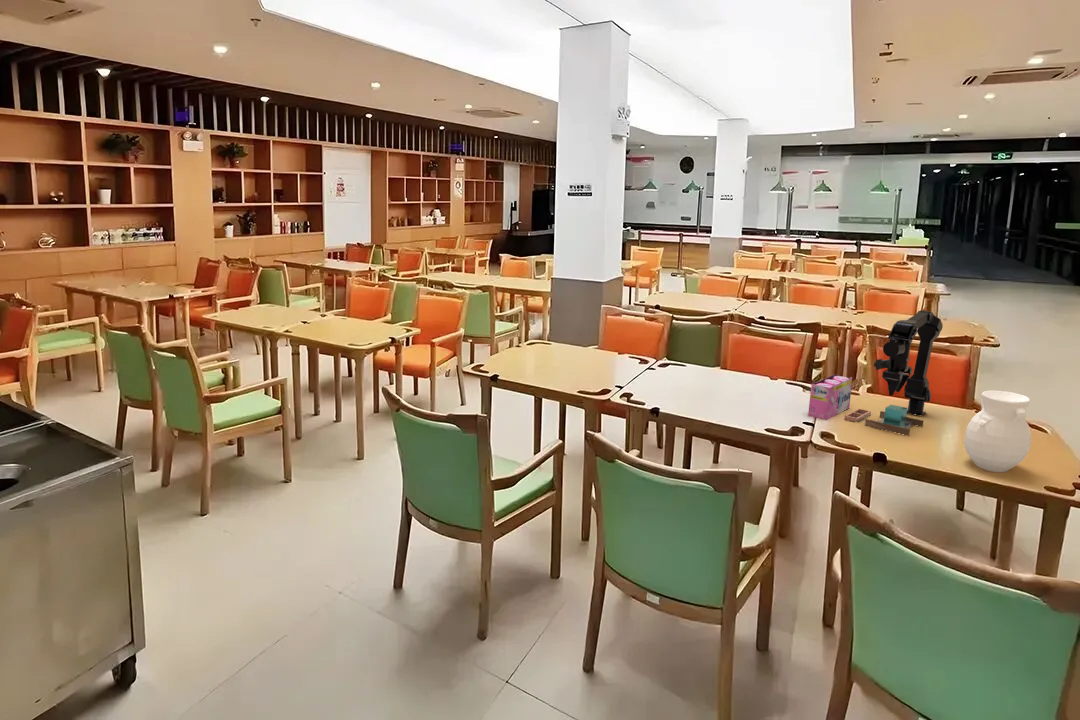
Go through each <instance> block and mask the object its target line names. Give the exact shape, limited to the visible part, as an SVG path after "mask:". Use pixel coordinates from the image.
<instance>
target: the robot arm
mask: <svg viewBox="0 0 1080 720" xmlns="http://www.w3.org/2000/svg"><path fill="white" fill-rule="evenodd" d="M942 330H943V322H942V320H941V319H940V318H939V317H937V316H936V315H935V314H934V313H933V312H932V311H930V310H929V311H928V310H922V309H921V310H918V311H917V313H916V314H914V315H913V316H911V317H910V318H908V319H901V320H897V321H896V322H895V323H894V324H893V326H892V328H891V330H890V332H889V335H888V337H887V338H888V339H889V341H888V342H886V343H885V344H884V345H883V347H882V351H883V353H884V354H885V356H887V357H889V358H888V359H882V358H879V359H876V360H875V361H874V363H873V367H875V371H878V370H883V369H886V370H884V371H883V372H882V376H881V378H883V380H885V382H887V388H888V395H889V396H891V397H892V396H894V394H895V393H900V391H901V390H902V388H903V387H904V390H903V391H904V396H903V397H904V398H907V399H908V406H907V414H908V413H911V414H910V415H913V414H916V415H915V416H918V415H922V416H923V414H924V413H925V414H926V413H927V411H924V408H925V403H926V402H927V403H929V402H931V398H932V393H931V390H930V388H929V387H930V382H929V380H928V378H927V374H928V369H929V364H930V360H931V355H932V350H933V346H934V345H933V344H934V342H935V341H936V339H937V338H938V337H939V336H940V334H941V331H942ZM916 335H918V337H919V344H918V345H919V346H918V349H917V353H916V354H917V356H916V359H915V365H914V368H912V366H909V365H908V364H909V361H910V360H911V357H910V353H911V347H912V346H911V345H912V343H913V340H914V339H915V337H916ZM925 414H924V415H925Z"/></svg>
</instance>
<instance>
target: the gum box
mask: <svg viewBox="0 0 1080 720" xmlns="http://www.w3.org/2000/svg"><path fill="white" fill-rule="evenodd" d="M852 384H853V377H852V376H850V377H846V376H840V375H839V374H832V375H830V376H828V377H825V378H823V379H821V380H820V379H819V380H818V381H814V382H813V383H811V386H810V394H809V395H810V396H809V403H808V404H809V405H808V411H807V412H808V413H807V415H808V416H810V417H813V418H818V419H821V420H828V419H831V418H832V417H834V416H837V415H838V414H840V413H842V412H845V411H846V409H847V410H849V409H850V406H851V396H852V387H853V386H852ZM848 408H849V409H848ZM844 410H845V411H844Z"/></svg>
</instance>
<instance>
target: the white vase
mask: <svg viewBox="0 0 1080 720" xmlns="http://www.w3.org/2000/svg"><path fill="white" fill-rule="evenodd" d="M1030 402H1031V399H1030V398H1029V397H1028V396H1026V395H1023V394H1021V393H1017V392H1011V391H1005V390H993V389H991V390H984V391H982V393H981V400H980V406H981V410H979V411H978V412H977V413H976V414H975V415H974V416H973V417H972V418H971V419H970V420H969V423H968V424H967V427H966V430H965V432H964V436H963V437H964V438H963V445H964V449H965V451H966V453H967V455H968V457H969V458H970V459H971V461H972V462H973V464H975V466H976V467H978V468H979V469H982V470H984V471H988V472H992V473H1006V472H1008V471H1009V470H1011V469H1013V468H1015V467H1016V466H1017V465H1019V464H1020V463H1022V461H1023V460H1025V458H1026V457H1027V455H1028V453H1029V451H1030V449H1031V444H1032V432H1031V429H1030V425H1029V424H1028V422H1027V420H1026V416H1027V415H1026V411H1025V410H1026V409H1027V407H1028V406H1029V404H1030Z"/></svg>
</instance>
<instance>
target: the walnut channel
mask: <svg viewBox="0 0 1080 720" xmlns="http://www.w3.org/2000/svg"><path fill="white" fill-rule="evenodd" d="M884 415H885V411H882V410H881V411H879V418H880V417H881V418H880V419H883V418H884ZM906 420H907V421H912V422H914V424H913V425H912V426H915V425H918V426H917V427H919V426H923V427H924V420H923V419H919V418H914V417H910V416H906ZM877 421H878V420H873V419H868V418H865V421H864V422H865V423H864V426H865V427H868V426H870V427H869V428H873V427H874V429H877V428H878V429H877V430H881V429H883V430H882V431H885V430H887V431H886V432H889V431H891V432H890V433H893V432H896V433H895V434H897V433H900V434H899V435H902V434H904V435H903V436H906V435H908V436H907V437H909V436H910V433H911V429H910V428H908V429H907V428H903V427H899V426H894V425H890V424H886V423H881V422H877Z"/></svg>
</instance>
